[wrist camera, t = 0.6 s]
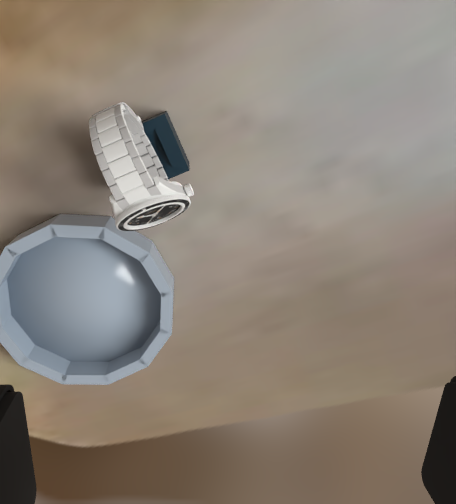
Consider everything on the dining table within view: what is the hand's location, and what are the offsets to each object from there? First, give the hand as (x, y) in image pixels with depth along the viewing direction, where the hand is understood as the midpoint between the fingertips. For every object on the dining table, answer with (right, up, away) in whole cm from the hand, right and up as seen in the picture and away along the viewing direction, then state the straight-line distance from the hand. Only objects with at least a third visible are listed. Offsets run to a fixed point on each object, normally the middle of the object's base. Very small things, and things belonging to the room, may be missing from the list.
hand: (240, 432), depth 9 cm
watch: (-7, +12, +24) cm, 28 cm away
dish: (-13, 0, +28) cm, 31 cm away
